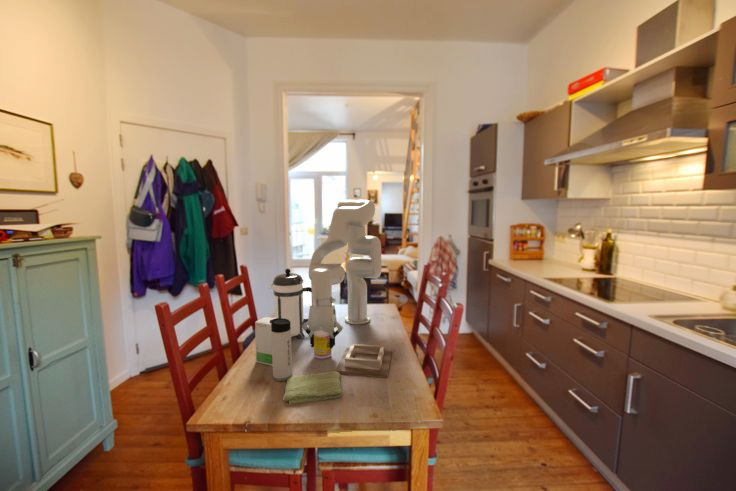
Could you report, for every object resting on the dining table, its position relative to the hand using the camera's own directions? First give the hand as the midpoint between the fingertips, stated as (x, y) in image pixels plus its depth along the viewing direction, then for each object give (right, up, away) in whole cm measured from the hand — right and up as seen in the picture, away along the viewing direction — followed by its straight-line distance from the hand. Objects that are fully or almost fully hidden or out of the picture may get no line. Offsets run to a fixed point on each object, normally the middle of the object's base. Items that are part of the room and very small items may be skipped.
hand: (322, 346), depth 124 cm
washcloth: (0, -7, -22) cm, 24 cm away
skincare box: (-19, -5, -3) cm, 20 cm away
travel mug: (-12, -6, -15) cm, 20 cm away
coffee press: (-16, -1, +20) cm, 26 cm away
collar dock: (+16, -4, -5) cm, 18 cm away
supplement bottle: (0, -4, +1) cm, 4 cm away
